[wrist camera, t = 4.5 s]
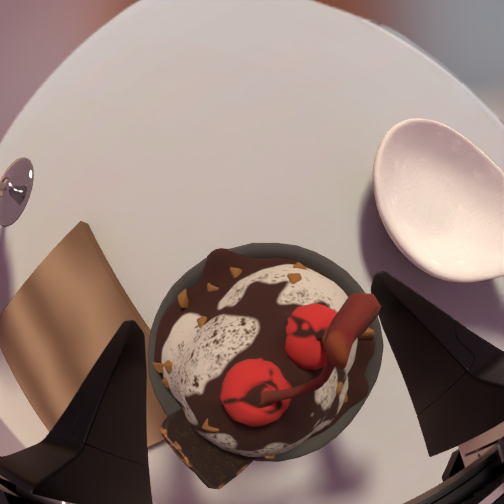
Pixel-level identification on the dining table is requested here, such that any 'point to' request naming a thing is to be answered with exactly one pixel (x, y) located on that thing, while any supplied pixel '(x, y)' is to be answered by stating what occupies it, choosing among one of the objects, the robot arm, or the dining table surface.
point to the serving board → (68, 327)
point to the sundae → (261, 357)
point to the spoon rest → (441, 201)
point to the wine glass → (15, 190)
